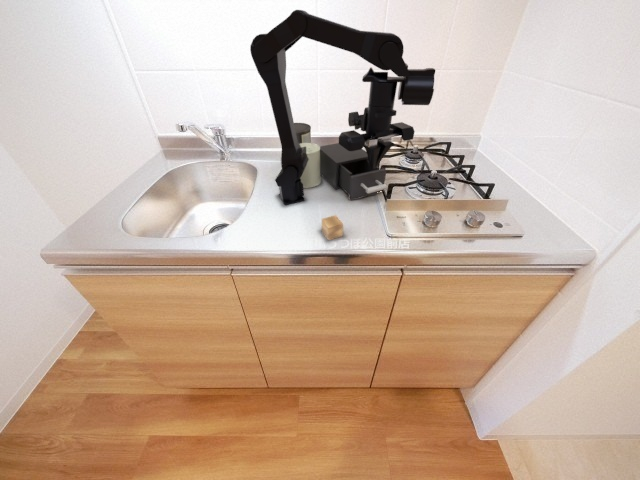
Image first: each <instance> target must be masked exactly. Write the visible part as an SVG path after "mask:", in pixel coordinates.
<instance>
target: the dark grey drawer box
mask: <svg viewBox="0 0 640 480" xmlns="http://www.w3.org/2000/svg"><path fill="white" fill-rule="evenodd" d="M319 146H320V176H321V177H323V178H324V179H325V180H326V181H327V182H328V183H329V185H331V187H333V189H334V190H341V189H342V188H341V187H340V186H339V185H338V170H339V165H341V164H346V163H351V162H356V161H361V160H365V159H368V155H367V152H366V150H365V149H363V148H362V149H361V150H356V151H348V150H347V149H345V148H344V147H342V146H341V145H340V144H339V142H336V143H331V144H325V145H319ZM368 160H369V159H368Z"/></svg>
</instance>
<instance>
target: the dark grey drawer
mask: <svg viewBox="0 0 640 480" xmlns="http://www.w3.org/2000/svg"><path fill="white" fill-rule="evenodd" d="M386 177H387V169H386V168H380V167H379V165H378V166H377V167H376V168H375V169H371V167H370V163H369V160H368V159H365V160H361V161H356V162H351V163H346V164H341V165H339V170H338V185H339V186H340V187H341V189H342V190H343V191H344V192H345V193H346V194H347V195H348V199H349V200H350V201H353V200H357V199H361V198H365V197H369V196H372V195H376V194H378V193H377V192H380V191H382V190H383V191H384V190H387V189H388V188H387V187H388V186H387V184H386V183H385V182H386ZM380 193H381V192H380Z"/></svg>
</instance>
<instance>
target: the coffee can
mask: <svg viewBox="0 0 640 480" xmlns="http://www.w3.org/2000/svg"><path fill="white" fill-rule="evenodd" d="M294 126H295V131H296V136H297V141H298V143H299V144H300V143H312V132H311V130H312V126H311V125H310V124H308V123H305V122H294Z"/></svg>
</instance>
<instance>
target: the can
mask: <svg viewBox="0 0 640 480" xmlns="http://www.w3.org/2000/svg"><path fill="white" fill-rule="evenodd" d="M299 145H300V146H301V147H305V146H306V154H307V157H308V159H309V160H308V162H307V165H306V168H305V170H304V172H303V174H302V176H301V177H300V179H301V182H302V183H303V189H310V188H315V187H318V186H319V185H320V184H321V183H322V179H321V178H322V175H321V174H320V146H321V145H319V144H316V143H313V142H311V143H300V144H299Z"/></svg>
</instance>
